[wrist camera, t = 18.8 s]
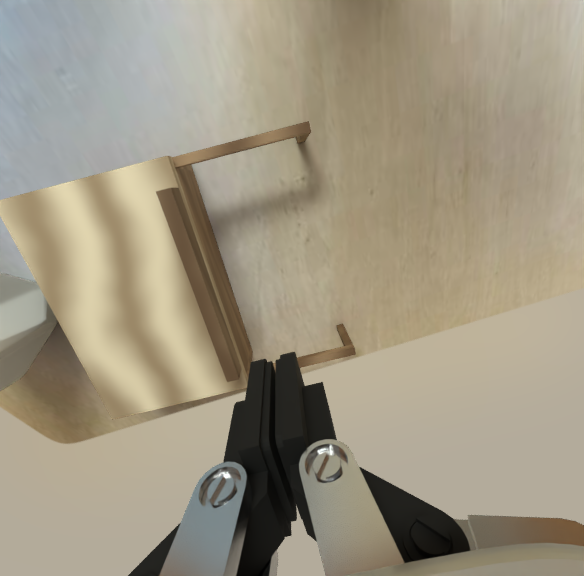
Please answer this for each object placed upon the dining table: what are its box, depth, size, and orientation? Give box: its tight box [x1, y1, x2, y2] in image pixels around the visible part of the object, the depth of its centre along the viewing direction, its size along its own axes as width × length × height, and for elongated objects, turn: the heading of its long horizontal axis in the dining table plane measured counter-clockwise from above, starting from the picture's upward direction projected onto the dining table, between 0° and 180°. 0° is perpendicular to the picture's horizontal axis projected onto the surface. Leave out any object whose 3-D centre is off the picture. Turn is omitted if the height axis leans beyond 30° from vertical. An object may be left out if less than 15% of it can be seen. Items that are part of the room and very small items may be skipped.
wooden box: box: [172, 121, 356, 377], centre depth 32 cm, size 27×23×6 cm
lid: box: [0, 156, 248, 420], centre depth 28 cm, size 15×23×3 cm, turn 14°
